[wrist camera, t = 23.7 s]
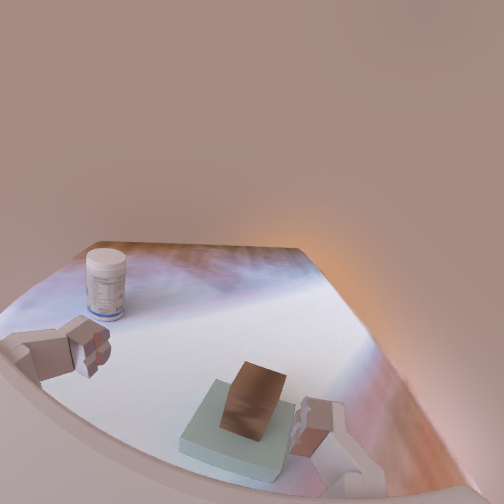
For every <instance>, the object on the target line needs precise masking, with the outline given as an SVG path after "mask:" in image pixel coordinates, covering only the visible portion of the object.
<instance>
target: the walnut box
mask: <svg viewBox="0 0 504 504" xmlns="http://www.w3.org/2000/svg"><path fill="white" fill-rule="evenodd" d="M286 376H287V375H284V374H281V373H278V372H275V371H272V370H269V369H266V368H263V367H260V366H257V365H255V364H252V363H249V362H246V361H245V362H244V364H243V366H242V368H241V369H240V371H239V373H238V374H237V376H236V378H235V380H234V381H233V383H232V385H231V386H230V388H229V392H228V396H227V400H226V403H225V407H224V411H223V415H222V418H221V422H220V426H219V427H220V428H222V429H224V430H227V431H230V432H232V433H235V434H237V435H240V436H243V437H246V438H248V439H251V440H254V441H257V442H259V441H260V439H261V437H262V435H263V433H264V431H265V429H266V427H267V425H268V423H269V421H270V419H271V416H272V414H273V412H274V410H275V408H276V406H277V403H278V400H279V397H280V394H281V391H282V388H283V385H284V382H285V379H286Z"/></svg>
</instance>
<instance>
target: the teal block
mask: <svg viewBox="0 0 504 504" xmlns="http://www.w3.org/2000/svg"><path fill="white" fill-rule="evenodd" d="M230 386H231V384H228V383H225V382H223V381H220V380H217V379H216V380H215V382H214V383H213V385H212V387H211V388H210V390H209V392H208V393H207V395H206V397H205V398H204V400H203V402H202V403H201V405H200V407H199V408H198V410H197V411H196V413H195V415H194V416H193V418H192V420H191V421H190V423H189V424H188V426H187V428H186V429H185V431H184V432H183V434H182V436H181V437H180V448H179V452H181V453H184V454H186V455H188V456H191V457H193V458H195V459H198V460H200V461H203V462H205V463H208V464H211V465H213V466H216V467H219V468H222V469H224V470H227V471H230V472H233V473H237V474H240V475H243V476H246V477H250V478H253V479H257V480H261V481H265V482H269V483H272V482H273V481H274V480H275V478H276V477H277V476H278V475H279V473H280V472H281V470H282V466H283V462H284V457H285V453H286V449H287V444H288V440H289V435H290V430H291V426H292V421H293V416H294V411H295V404H291V403H287V402H284V401H280V400H278V403H277V406H276V408H275V410H274V412H273V414H272V416H271V419H270V421H269V423H268V425H267V427H266V429H265V431H264V433H263V435H262V437H261V439H260V441H259V442H257V441H254V440H251V439H248V438H246V437H243V436H240V435H237V434H235V433H232V432H230V431H227V430H224V429H222V428H220V427H219V426H220V422H221V418H222V415H223V411H224V407H225V403H226V400H227V396H228V392H229V388H230Z"/></svg>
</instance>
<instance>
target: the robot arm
mask: <svg viewBox="0 0 504 504" xmlns="http://www.w3.org/2000/svg"><path fill="white" fill-rule="evenodd" d="M109 338H110V331H109V330H108V329H107V328H105V327H103V326H101V325H99V324H98V323H96V322H94V321H92V320H90V319H88V318H86V317H85V316H83V315H79V316H77V317H76V318H74V319H73V320H71V321H70V322H68V323H67V324H65V325H64V326H63V327H61V328H60V329H58V330H56V329H48V330H40V331H30V332H20V333H12V334H10V335H9V336H7V337H6V338H4V339H2V340H1V341H0V504H490V502H489V501H488V500H487V499H486V498H484V497H483V496H482V495H480V494H479V493H478V492H477V491H475V490H474V489H472V488H471V487H469V486H467V485H465V484H461V485H456V486H452V487H448V488H444V489H439V490H435V491H429V492H424V493H418V494H411V495H404V496H395V497H388V491H387V484H386V477H385V472H384V471H383V469H382V468H381V467H380V466H379V465H378V464H377V463H376V462H375V461H374V460H373V458H372V457H371V456H370V455H369V454H368V453H367V452H366V451H365V450H364V448H363V447H362V446H361V445H360V444H359V443H358V442H357V440H356V439H355V438H354V437H353V436H352V435H351V434H347V426H346V417H345V409H344V404H343V403H341V402H334V401H327V400H321V399H316V398H310V397H305V398H304V399H303V401H302V403H301V409H299V410H297V412H296V414H295V416H294V419H293V422H292V427H291V433H292V434H293V436H292V438H291V440H290V445H289V454H295V455H300V456H306V457H310V460H311V462H312V463H313V465H314V467H315V469H316V471H317V472H318V474H319V476H320V478H321V479H322V481H323V483H324V485H325V486H326V488H327V491H326V492H324V493H323V494H322V495H321V496H319V497H318V498H315V497H304V496H294V495H287V494H280V493H273V492H267V491H262V490H257V489H252V488H247V487H243V486H239V485H235V484H231V483H227V482H223V481H219V480H216V479H213V478H209V477H206V476H203V475H200V474H197V473H194V472H191V471H188V470H185V469H183V468H180V467H177V466H175V465H172V464H170V463H167V462H165V461H162V460H160V459H157V458H155V457H153V456H151V455H148V454H146V453H144V452H142V451H140V450H138V449H136V448H134V447H132V446H130V445H128V444H126V443H124V442H122V441H120V440H118V439H116V438H114V437H113V436H111V435H109V434H107V433H106V432H104V431H102V430H100V429H99V428H97V427H95V426H94V425H92V424H91V423H89V422H87V421H86V420H84V419H83V418H81V417H80V416H78V415H77V414H75V413H74V412H72V411H71V410H69V409H68V408H66V407H65V406H64V405H62V404H61V403H59V402H58V401H57V400H55V399H54V398H53V397H51V396H50V395H49V394H48V393H46V392H45V391H44V390H43V389H42V386H41V383H40V381H43V380H46V379H50V378H53V377H56V376H59V375H63V374H66V373H69V372H72V371H74V370H75V371H77V372H78V373H80V374H82V375H83V376H85V377H87V378H90V377H91V376H92V375H93V374H94V373H95V372H96V371H97V370H98V366H99V365H104V364H105V363H106V361H107V360H108V358H109V356H110V353H111V345H110V343H109V342H108V339H109Z"/></svg>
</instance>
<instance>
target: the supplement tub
mask: <svg viewBox="0 0 504 504" xmlns="http://www.w3.org/2000/svg"><path fill="white" fill-rule="evenodd" d="M125 276H126V256H125V254H123V253H122V252H120V251H118V250H115V249H109V248H99V249H94V250H91V251H90V252H88V254H87V260H86V289H87V309H88V312H89V314H90V315H91V316H92V317H93V318H95V319H97V320H100V321H114V320H117V319H119V318H120V317H121V316H122V315H123V313H124V299H125Z"/></svg>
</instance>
